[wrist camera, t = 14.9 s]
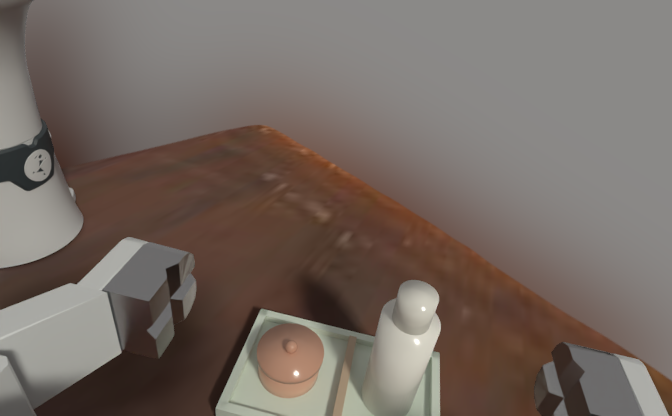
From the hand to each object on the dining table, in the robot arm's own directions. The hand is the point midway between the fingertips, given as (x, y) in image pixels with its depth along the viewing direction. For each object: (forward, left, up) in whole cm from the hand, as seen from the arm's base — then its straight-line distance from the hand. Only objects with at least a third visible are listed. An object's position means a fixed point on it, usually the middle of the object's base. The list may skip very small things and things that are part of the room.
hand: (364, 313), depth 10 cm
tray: (0, +19, -32) cm, 37 cm away
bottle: (+5, +19, -31) cm, 36 cm away
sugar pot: (-5, +19, -32) cm, 37 cm away
